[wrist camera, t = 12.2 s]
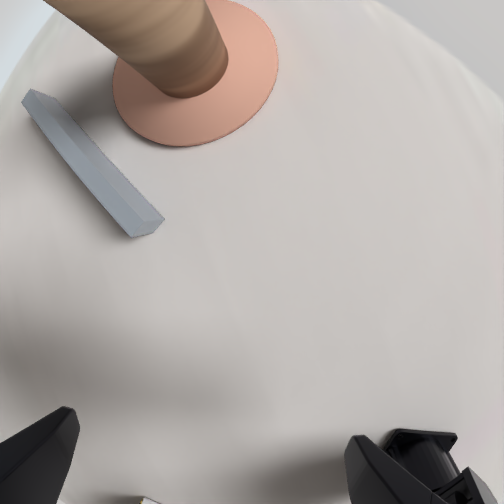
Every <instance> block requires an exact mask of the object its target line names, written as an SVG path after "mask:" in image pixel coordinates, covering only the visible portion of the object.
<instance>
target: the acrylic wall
mask: <svg viewBox="0 0 504 504" xmlns="http://www.w3.org/2000/svg"><path fill="white" fill-rule="evenodd" d="M21 103H22V104H23V106H24V107H25V108H26V110H27V111H28V112H29V114H30V115H31V117H32V118H33V119H34V121H35V122H36V123H37V125H38V126H39V127H40V129H41V130H42V131H43V133H44V134H45V135H46V137H47V138H48V139H49V141H50V142H51V143H52V144H53V146H54V147H55V148H56V150H57V151H58V152H59V153H60V155H61V156H62V157H63V158H64V160H65V161H66V162H67V163H68V165H69V166H70V167H71V168H72V170H73V171H74V172H75V173H76V175H77V176H78V177H79V178H80V179H81V181H82V182H83V183H84V184H85V185H86V187H87V188H88V189H89V190H90V191H91V193H92V194H93V195H94V196H95V197H96V198H97V200H98V201H99V202H100V203H101V204H102V205H103V207H104V208H105V209H106V210H107V211H108V212H109V214H110V215H111V216H112V217H113V218H114V219H115V220H116V221H117V223H118V224H119V225H120V226H121V227H122V228H123V229H124V230H125V232H126V233H127V234H128V235H129V236H130V237H131V238H132V237H136V236H141V235H146V234H151V233H153V232H154V231H155V230H156V229H157V228H158V226H159V225H160V224H161V223H162V222H163V221H164V220H165V219H164V218H163V217H162V216H161V214H160V213H159V212H158V211H157V210H156V209H155V208H154V207H153V206H152V205H151V204H150V203H149V202H148V201H147V200H146V199H145V198H144V197H143V196H142V194H141V193H140V192H139V191H138V190H137V189H136V188H135V187H134V186H133V185H132V184H131V183H130V182H129V181H128V179H127V178H126V177H125V176H124V175H123V174H122V173H121V172H120V171H119V170H118V169H117V168H116V166H115V165H114V164H113V163H112V162H111V161H110V160H109V159H108V158H107V157H106V156H105V154H104V153H103V152H102V151H101V150H100V149H99V148H98V147H97V146H96V145H95V143H94V142H93V141H92V140H91V139H90V138H89V137H88V136H87V134H86V133H85V132H84V131H83V130H82V129H81V128H80V127H79V125H78V124H77V123H76V122H75V121H74V120H73V119H72V117H71V116H70V115H69V114H68V113H67V112H66V111H65V109H64V108H63V107H62V106H61V105H60V104H59V103H58V101H57V100H56V99H55V98H53V97H51V96H48V95H46V94H43V93H40V92H38V91H35V90H33V89H30V90H29V91H28V93H27V94H26V96H25V97H24V99H23V100H22V102H21Z"/></svg>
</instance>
